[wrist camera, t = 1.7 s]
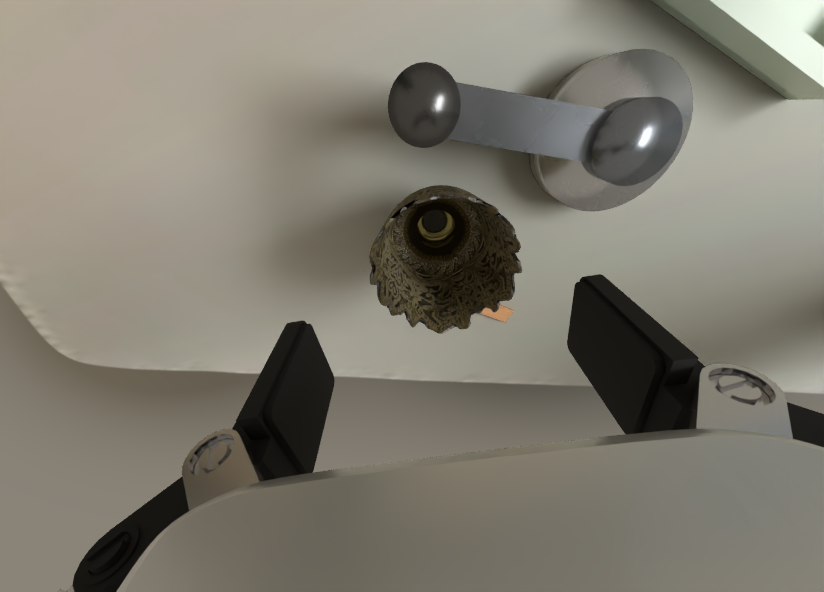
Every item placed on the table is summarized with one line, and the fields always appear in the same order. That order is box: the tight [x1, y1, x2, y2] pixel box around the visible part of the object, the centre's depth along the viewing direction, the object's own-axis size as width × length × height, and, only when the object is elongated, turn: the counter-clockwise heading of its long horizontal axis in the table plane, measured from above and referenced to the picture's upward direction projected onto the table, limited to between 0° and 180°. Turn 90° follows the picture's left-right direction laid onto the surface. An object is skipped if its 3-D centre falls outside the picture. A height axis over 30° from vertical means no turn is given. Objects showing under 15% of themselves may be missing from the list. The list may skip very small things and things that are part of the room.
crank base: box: [529, 49, 693, 211], centre depth 18 cm, size 8×8×2 cm
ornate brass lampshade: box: [370, 185, 522, 333], centre depth 18 cm, size 8×7×8 cm
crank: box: [388, 62, 683, 186], centre depth 14 cm, size 14×4×6 cm, turn 82°
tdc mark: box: [481, 305, 513, 322], centre depth 25 cm, size 5×1×1 cm, turn 67°
